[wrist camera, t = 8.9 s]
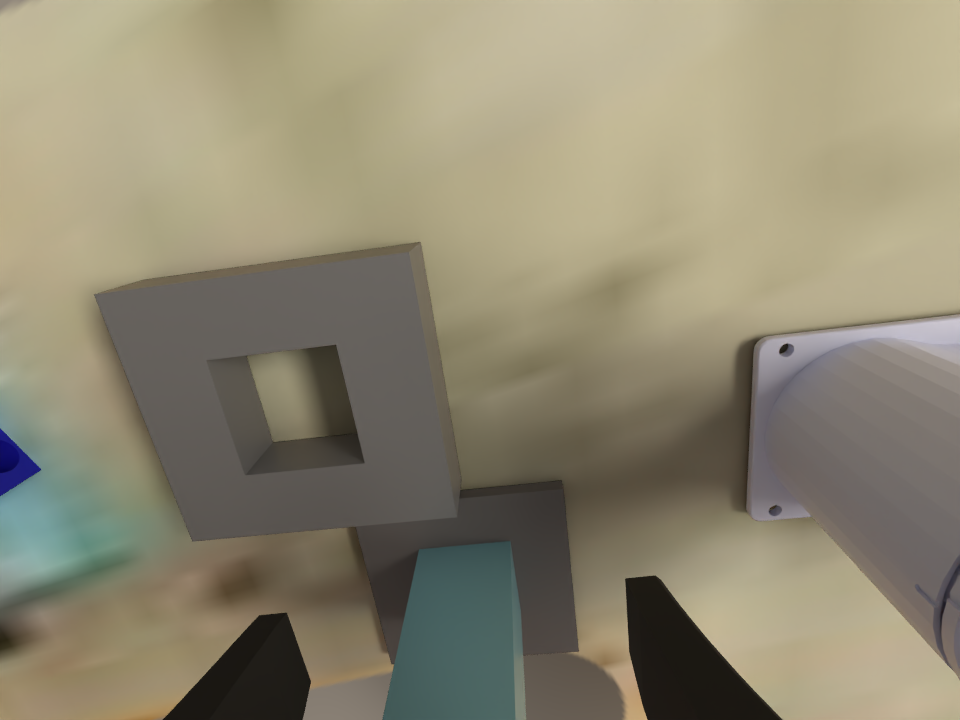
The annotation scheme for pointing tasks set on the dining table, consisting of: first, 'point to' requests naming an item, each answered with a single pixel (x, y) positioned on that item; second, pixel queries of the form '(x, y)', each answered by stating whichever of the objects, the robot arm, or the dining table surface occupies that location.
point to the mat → (482, 519)
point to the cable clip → (13, 464)
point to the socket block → (236, 404)
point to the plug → (460, 638)
